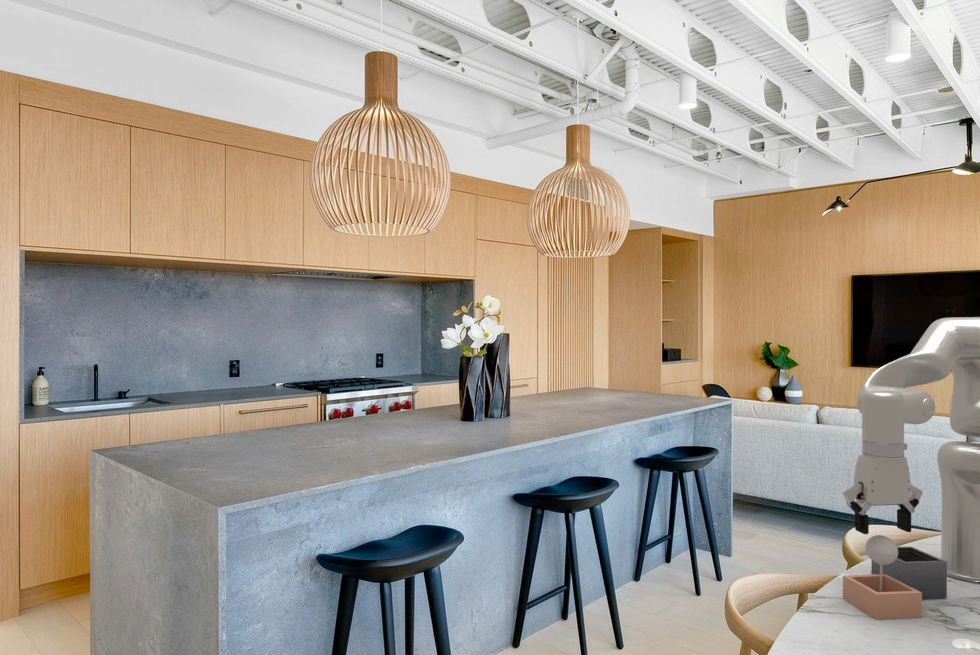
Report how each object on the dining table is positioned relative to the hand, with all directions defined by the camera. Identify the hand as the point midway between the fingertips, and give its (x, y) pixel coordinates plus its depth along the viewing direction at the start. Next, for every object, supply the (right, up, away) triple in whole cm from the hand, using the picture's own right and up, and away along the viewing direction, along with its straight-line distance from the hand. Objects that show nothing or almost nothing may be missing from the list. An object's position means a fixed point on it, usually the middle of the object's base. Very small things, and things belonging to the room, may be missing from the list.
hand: (883, 531), depth 134 cm
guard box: (+11, -16, +9) cm, 22 cm away
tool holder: (-1, -16, 0) cm, 16 cm away
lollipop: (-1, -16, 0) cm, 16 cm away
